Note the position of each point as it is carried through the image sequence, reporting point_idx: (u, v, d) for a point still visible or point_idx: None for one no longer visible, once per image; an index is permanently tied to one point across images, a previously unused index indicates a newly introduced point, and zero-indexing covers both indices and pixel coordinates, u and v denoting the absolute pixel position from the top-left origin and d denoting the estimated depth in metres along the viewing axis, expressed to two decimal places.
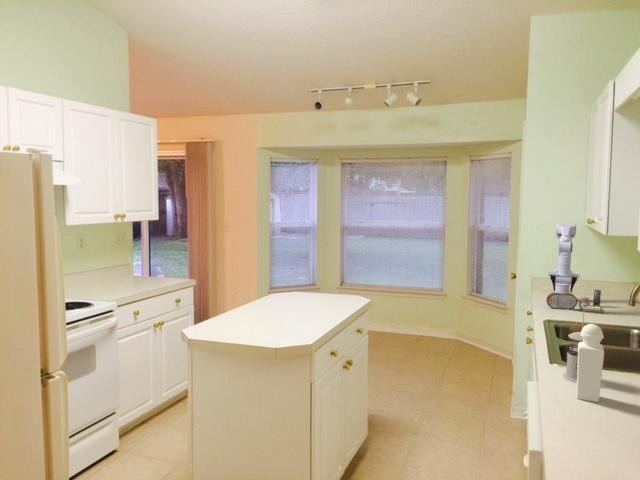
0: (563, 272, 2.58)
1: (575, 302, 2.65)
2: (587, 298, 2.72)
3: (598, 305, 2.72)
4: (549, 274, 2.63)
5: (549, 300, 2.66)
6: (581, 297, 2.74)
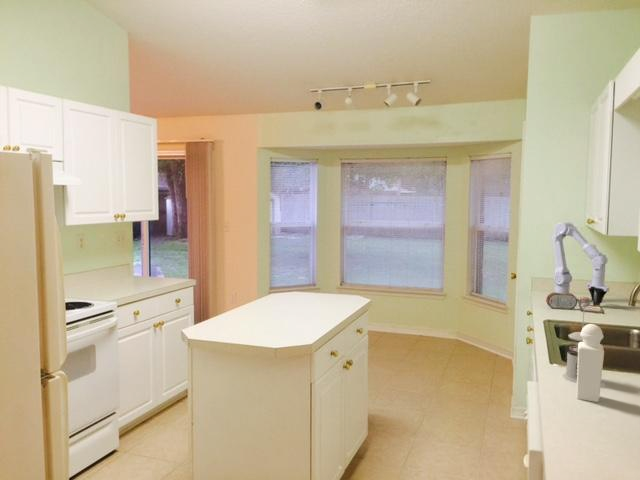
0: (593, 283, 2.72)
1: (575, 302, 2.65)
2: (587, 298, 2.72)
3: (598, 305, 2.72)
4: (587, 284, 2.79)
5: (549, 300, 2.66)
6: (581, 297, 2.74)
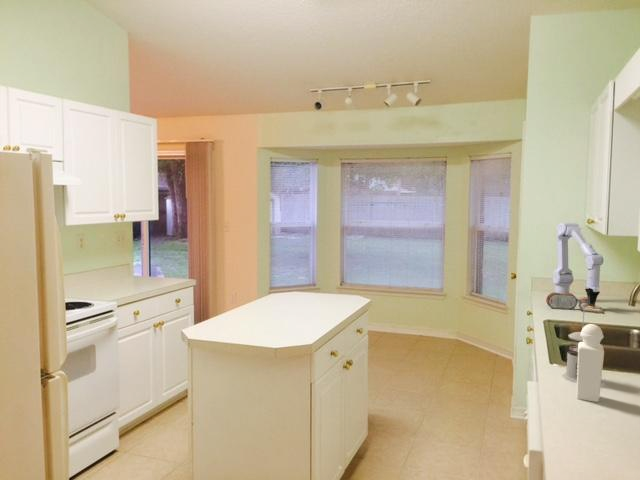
0: None
1: (575, 302, 2.65)
2: (587, 298, 2.72)
3: (592, 306, 2.64)
4: None
5: (549, 300, 2.66)
6: (581, 297, 2.74)
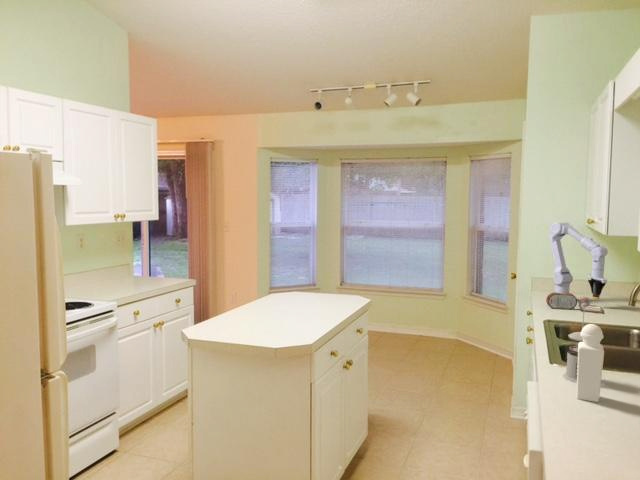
0: (591, 275, 2.70)
1: (575, 302, 2.65)
2: (587, 298, 2.72)
3: (597, 297, 2.69)
4: (588, 276, 2.76)
5: (549, 300, 2.66)
6: (581, 297, 2.74)
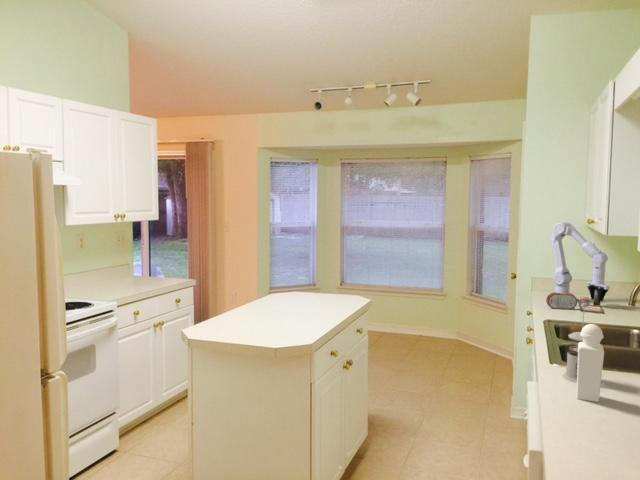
0: (593, 281, 2.72)
1: (575, 302, 2.65)
2: (587, 298, 2.72)
3: (598, 305, 2.72)
4: (587, 282, 2.79)
5: (549, 300, 2.66)
6: (581, 297, 2.74)
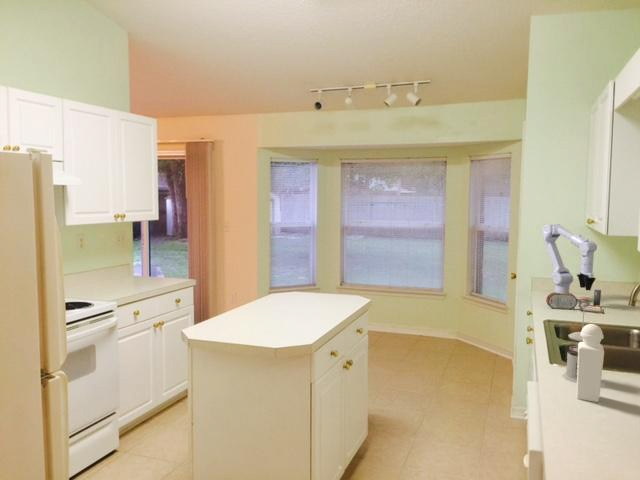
0: (580, 270, 2.73)
1: (575, 302, 2.65)
2: (587, 298, 2.72)
3: (598, 305, 2.72)
4: None
5: (549, 300, 2.66)
6: (581, 297, 2.74)
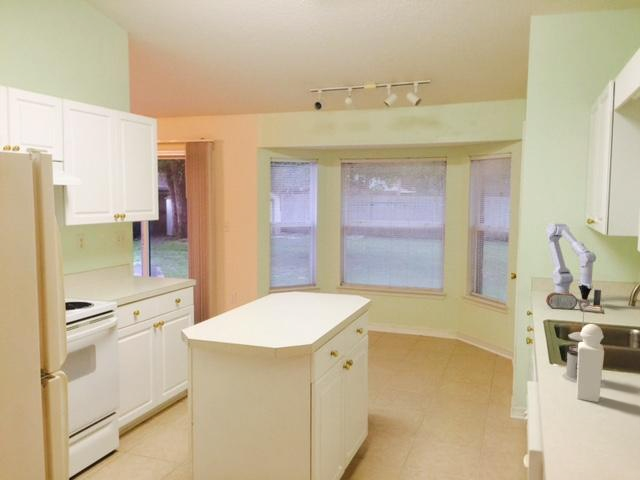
0: (580, 280, 2.73)
1: (575, 302, 2.65)
2: (587, 300, 2.72)
3: (598, 305, 2.72)
4: None
5: (549, 300, 2.66)
6: (581, 299, 2.74)
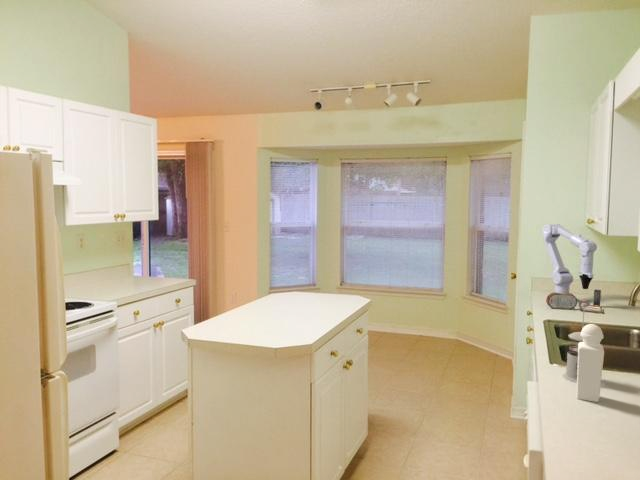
0: (580, 270, 2.73)
1: (575, 302, 2.65)
2: (587, 300, 2.72)
3: (598, 305, 2.72)
4: None
5: (549, 300, 2.66)
6: (581, 299, 2.74)
